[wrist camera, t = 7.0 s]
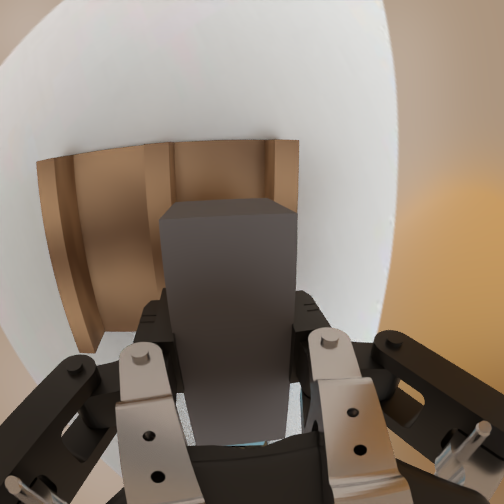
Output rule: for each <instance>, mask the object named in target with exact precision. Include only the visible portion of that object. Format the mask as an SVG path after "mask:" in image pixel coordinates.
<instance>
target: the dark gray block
mask: <svg viewBox="0 0 504 504" xmlns="http://www.w3.org/2000/svg"><path fill="white" fill-rule="evenodd" d="M297 217H298V213H296V212H294V211H292V210H290V209H288V208H286V207H284V206H282V205H280V204H278V203H276V202H275V201H273V200H271V199H269V198H248V199H223V200H203V201H185V202H175V203H174V204H173V205H172V206H171V207H170V208H169V209H168V210H167V211H166V212H165V214H164V215H163V216H162V217H161V218H160V219H159V230H160V241H161V251H162V261H163V270H164V278H165V286H166V294H167V301H168V308H169V315H170V321H171V328H172V333H174V334H175V340H176V346H177V352H178V357H179V363H180V368H181V373H182V378H183V383H184V388H185V390H184V396H185V401H186V405H187V410H188V414H189V418H190V422H191V426H192V430H193V434H194V438H195V442H196V446H202V445H217V446H226V445H237V444H247V443H256V442H263V441H271V440H277V439H283V438H285V433H286V423H287V412H288V401H289V389H290V381H289V366H290V351H291V334H292V324H294V312H295V290H296V262H297Z"/></svg>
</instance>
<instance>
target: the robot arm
mask: <svg viewBox="0 0 504 504" xmlns="http://www.w3.org/2000/svg"><path fill="white" fill-rule="evenodd" d="M400 380H403V381H404V382H405V383H407V384H408V385H410V386H411V387H413V388H414V389H416V390H417V391H418V392H420V393H421V394H422V395H423V397H424V400H425V405H422V404H421V403H419V402H418V401H417V400H415V399H414V398H412V397H411V396H410V395H408V394H407V393H405V392H404V391H403V390H401V389H400V388H398V384H399V382H400ZM289 381H290V383H296V382H300V385H301V392H300V406H301V425H302V434H298V435H293V436H290V437H287V438H285V439H282V440H280V441H277V442H274V443H272V444H269V445H266V446H264V447H261V448H258V449H241V448H232V447H224V446H217V445H202V446H188V445H187V442H186V438H185V435H184V432H183V428H182V425H181V421H180V418H179V414H178V411H177V407H176V394H177V393H184V390H185V388H184V383H183V378H182V373H181V368H180V363H179V357H178V352H177V346H176V340H175V334H174V333H172V328H171V321H170V315H169V308H168V301H167V294H166V288H163V289H162V293H161V297H160V300H151V301H150V302H149V303H148V304H147V305H146V306H145V307H144V308H143V311H142V315H141V318H140V321H139V324H138V328H137V331H136V335H135V338H134V342H133V344H131V345H129V346H127V347H126V348H124V349H123V350H122V352H121V353H120V356H119V360H118V361H116V362H112V363H108V364H103V365H98V366H96V364H95V361H94V360H93V359H92V358H91V357H89V356H87V355H74V356H70V357H68V358H66V359H65V360H63V361H62V362H61V363H60V364H59V365H58V366H57V367H56V368H55V369H54V370H53V371H52V372H51V373H50V374H49V375H48V376H47V377H46V378H45V379H44V380H43V381H42V382H41V383H40V384H39V385H38V386H37V387H36V388H35V389H34V390H33V391H32V392H31V393H30V394H29V395H28V396H27V397H26V398H25V400H24V401H23V402H22V403H21V404H20V405H19V406H18V407H17V408H16V409H15V410H14V411H13V412H12V413H11V414H10V416H9V417H8V418H7V419H6V420H5V421H4V422H3V423H2V424H1V426H0V504H70V503H71V501H72V500H73V498H74V497H75V495H76V493H77V492H78V490H79V489H80V487H81V486H82V484H83V483H84V481H85V480H86V478H87V477H88V475H89V473H90V472H91V470H92V469H93V468H94V466H95V465H96V463H97V462H98V460H99V459H100V457H101V456H102V454H103V453H104V451H105V450H106V448H107V447H108V445H109V444H110V442H111V441H112V439H113V438H114V436H115V435H116V433H117V435H118V445H119V454H120V462H121V469H122V476H123V482H124V487H123V488H122V489H121V490H120V491H119V492H118V493H117V494H116V495H115V496H114V497H112V498H111V499H110V500H109V501H108V502H107V503H106V504H490V503H489V500H490V498H491V497H492V495H493V494H494V492H495V490H496V489H497V487H498V485H499V484H500V482H501V480H502V478H503V476H504V395H503V394H502V393H500V392H498V391H497V390H495V389H494V388H492V387H490V386H489V385H487V384H485V383H484V382H482V381H481V380H479V379H477V378H476V377H474V376H473V375H471V374H469V373H468V372H466V371H464V370H463V369H461V368H459V367H458V366H456V365H455V364H453V363H451V362H450V361H448V360H446V359H445V358H443V357H441V356H440V355H438V354H436V353H435V352H433V351H432V350H430V349H428V348H427V347H425V346H423V345H422V344H420V343H418V342H417V341H415V340H413V339H412V338H410V337H409V336H407V335H405V334H403V333H401V332H398V331H393V330H386V331H382V332H379V333H378V334H377V335H376V336H375V338H374V342H373V343H362V342H352V341H351V340H350V338H349V336H348V335H347V334H346V333H345V332H343V331H341V330H339V329H336V328H332V327H331V326H330V324H329V323H328V321H327V320H326V318H325V317H324V315H323V313H322V312H321V310H319V307H318V306H317V304H316V303H315V301H314V300H313V298H312V297H311V296H310V295H309V294H307V293H306V292H304V291H303V290H300V291H295V312H294V324H292V334H291V351H290V366H289ZM77 412H78V414H79V415H78V417H77V418H76V419H75V420H74V422H73V423H72V424H71V426H70V427H69V428H68V429H67V431H66V432H65V433H64V434H63V436H62V437H61V434H62V431H63V429H64V427H65V426H66V425H67V424H68V423H69V421H70V420H71V419H72V418H73V416H74V415H75V414H76V413H77ZM387 427H388V428H389V429H390V430H392V431H393V432H394V433H395V434H397V435H398V436H399V437H400V438H402V439H403V440H404V441H405V442H407V443H408V444H409V445H411V446H412V447H413V448H414V449H416V450H417V451H419V452H420V453H421V454H422V455H424V456H425V457H426V458H428V459H429V460H430V461H431V462H433V463H434V464H435V469H436V472H435V475H433V474H431V473H428V472H426V471H423V470H421V469H419V468H416V467H414V466H412V465H409V464H407V463H405V462H403V461H401V460H399V459H396V458H395V456H394V452H393V448H392V445H391V441H390V437H389V434H388V430H387Z"/></svg>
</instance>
